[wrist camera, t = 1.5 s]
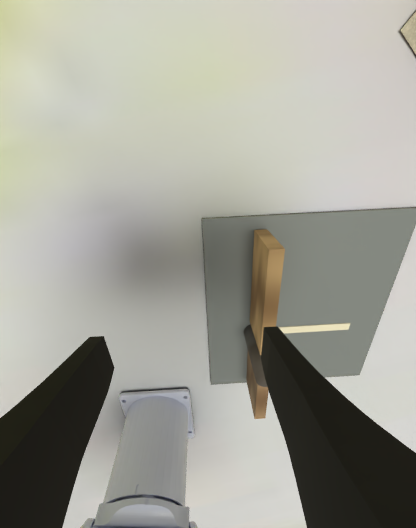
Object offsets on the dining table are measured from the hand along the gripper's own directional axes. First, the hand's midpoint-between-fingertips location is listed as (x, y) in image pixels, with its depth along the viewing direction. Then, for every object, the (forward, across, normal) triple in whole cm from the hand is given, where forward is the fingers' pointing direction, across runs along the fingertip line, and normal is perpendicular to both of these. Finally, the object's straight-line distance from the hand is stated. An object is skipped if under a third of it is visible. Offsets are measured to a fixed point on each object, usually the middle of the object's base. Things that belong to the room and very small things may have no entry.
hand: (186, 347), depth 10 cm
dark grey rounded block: (+9, -6, +11) cm, 15 cm away
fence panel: (+9, -6, +2) cm, 11 cm away
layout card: (+10, -10, +6) cm, 15 cm away
